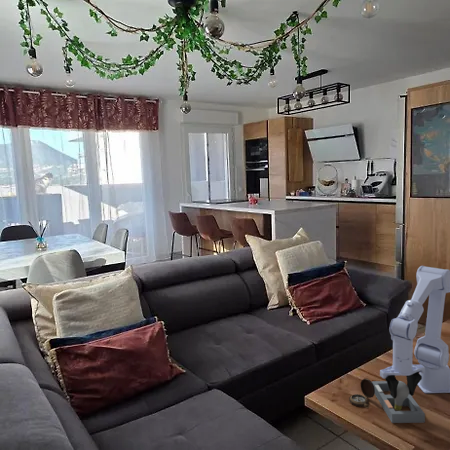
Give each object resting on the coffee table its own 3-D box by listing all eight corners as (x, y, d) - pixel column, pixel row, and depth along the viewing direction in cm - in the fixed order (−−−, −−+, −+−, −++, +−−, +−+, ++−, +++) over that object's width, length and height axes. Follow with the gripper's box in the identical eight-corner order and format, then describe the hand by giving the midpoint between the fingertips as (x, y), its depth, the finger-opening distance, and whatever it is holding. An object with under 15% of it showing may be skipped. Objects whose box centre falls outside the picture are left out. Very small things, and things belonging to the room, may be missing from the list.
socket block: (399, 388, 138) (400, 380, 138) (424, 422, 120) (424, 412, 119) (371, 389, 139) (371, 380, 139) (391, 422, 120) (392, 413, 120)
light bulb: (410, 415, 123) (413, 386, 122) (393, 415, 123) (396, 386, 122) (402, 405, 129) (404, 377, 127) (386, 405, 129) (388, 377, 127)
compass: (345, 399, 134) (345, 380, 133) (363, 394, 136) (363, 374, 135) (361, 412, 126) (361, 391, 125) (380, 406, 129) (380, 385, 128)
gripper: (415, 347, 127) (414, 385, 129) (374, 352, 125) (374, 391, 127) (429, 357, 120) (428, 397, 122) (387, 362, 118) (386, 403, 120)
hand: (401, 395), depth 124 cm, fingers closed on light bulb, 5 cm apart
